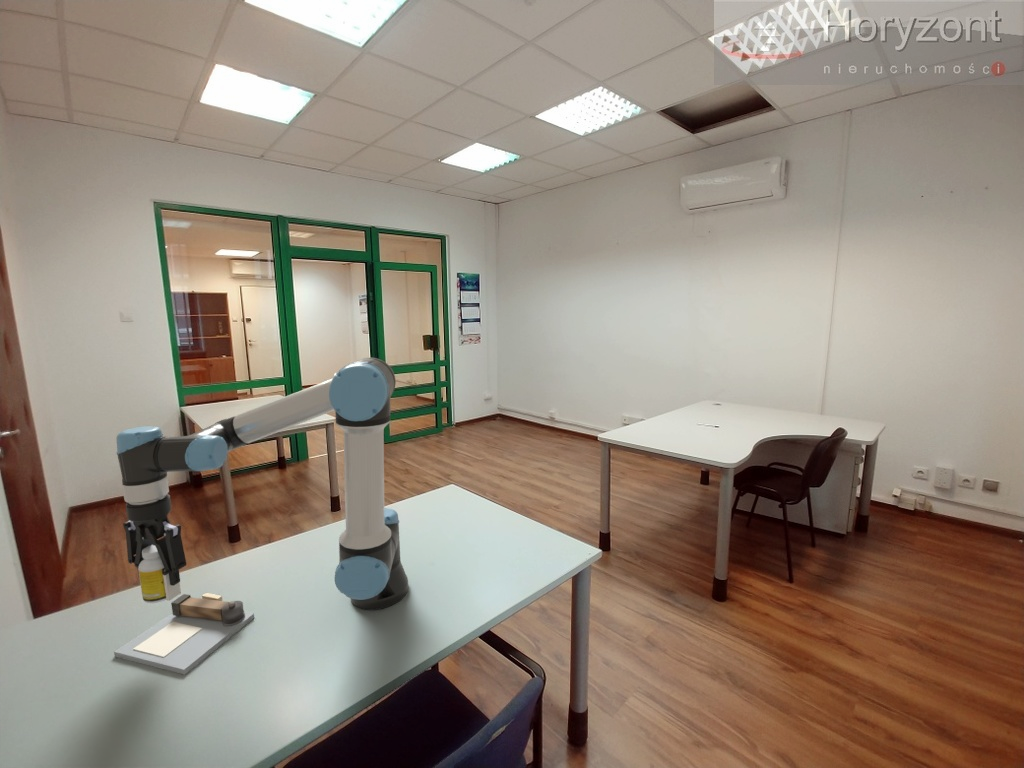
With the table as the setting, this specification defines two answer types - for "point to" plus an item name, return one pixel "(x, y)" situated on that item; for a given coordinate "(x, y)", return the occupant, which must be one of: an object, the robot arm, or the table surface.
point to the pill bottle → (152, 576)
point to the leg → (208, 609)
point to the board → (180, 641)
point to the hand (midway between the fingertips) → (161, 593)
